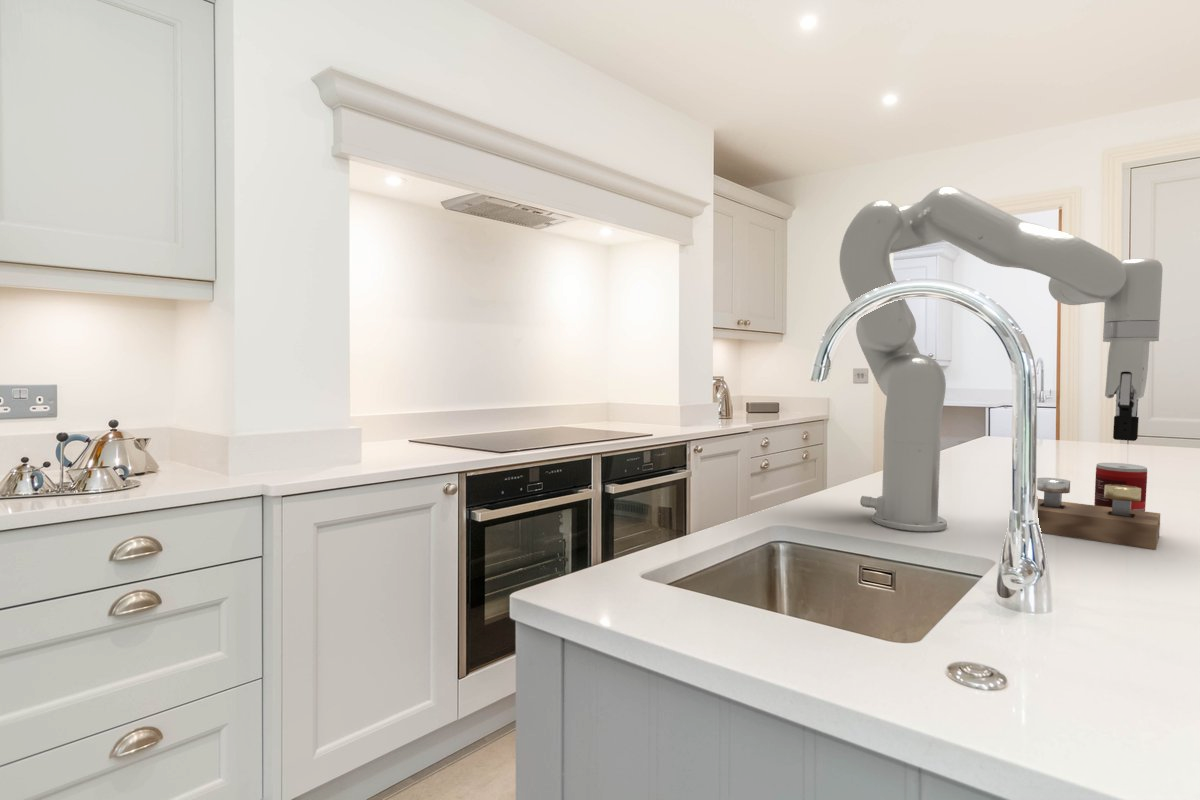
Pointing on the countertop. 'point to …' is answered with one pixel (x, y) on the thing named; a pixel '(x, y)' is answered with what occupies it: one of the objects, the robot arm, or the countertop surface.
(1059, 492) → the steel button
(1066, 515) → the button block
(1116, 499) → the brass button
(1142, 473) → the canned food
